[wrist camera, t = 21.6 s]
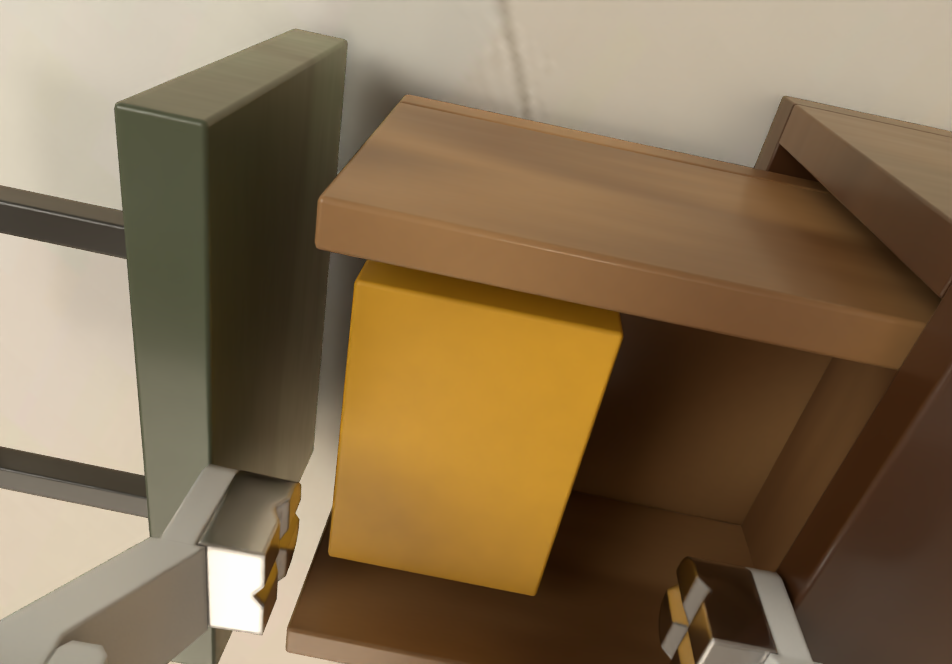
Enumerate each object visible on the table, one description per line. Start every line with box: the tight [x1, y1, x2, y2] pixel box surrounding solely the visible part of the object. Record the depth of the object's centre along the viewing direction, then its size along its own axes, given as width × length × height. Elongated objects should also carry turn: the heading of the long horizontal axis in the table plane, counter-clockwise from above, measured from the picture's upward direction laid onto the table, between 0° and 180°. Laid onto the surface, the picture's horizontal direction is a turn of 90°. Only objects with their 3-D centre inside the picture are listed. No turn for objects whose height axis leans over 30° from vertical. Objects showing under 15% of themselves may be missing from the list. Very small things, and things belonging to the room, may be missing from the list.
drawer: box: [0, 29, 942, 664], centre depth 15 cm, size 20×12×7 cm, turn 79°
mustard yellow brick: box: [328, 259, 624, 596], centre depth 15 cm, size 6×4×5 cm
